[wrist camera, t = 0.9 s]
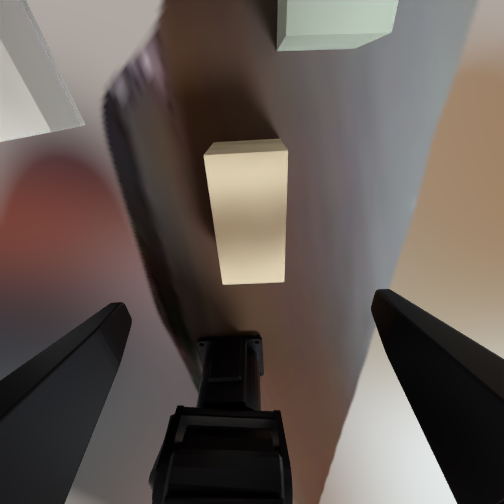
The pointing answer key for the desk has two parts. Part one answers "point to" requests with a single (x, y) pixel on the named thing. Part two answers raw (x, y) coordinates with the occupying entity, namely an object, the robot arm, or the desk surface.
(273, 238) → the birch brick
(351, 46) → the sage brick
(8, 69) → the white brick
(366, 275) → the desk surface
